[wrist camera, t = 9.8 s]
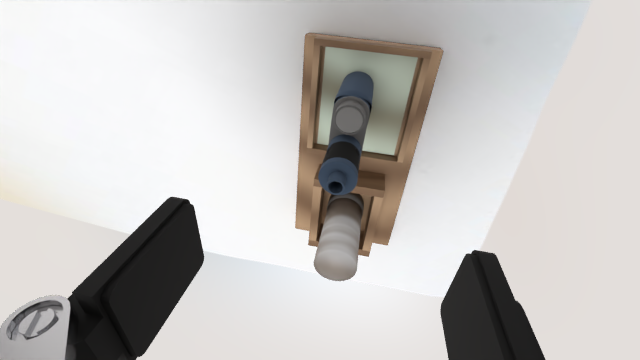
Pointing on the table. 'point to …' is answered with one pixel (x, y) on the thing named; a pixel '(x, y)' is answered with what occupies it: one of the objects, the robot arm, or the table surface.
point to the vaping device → (347, 134)
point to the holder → (378, 149)
